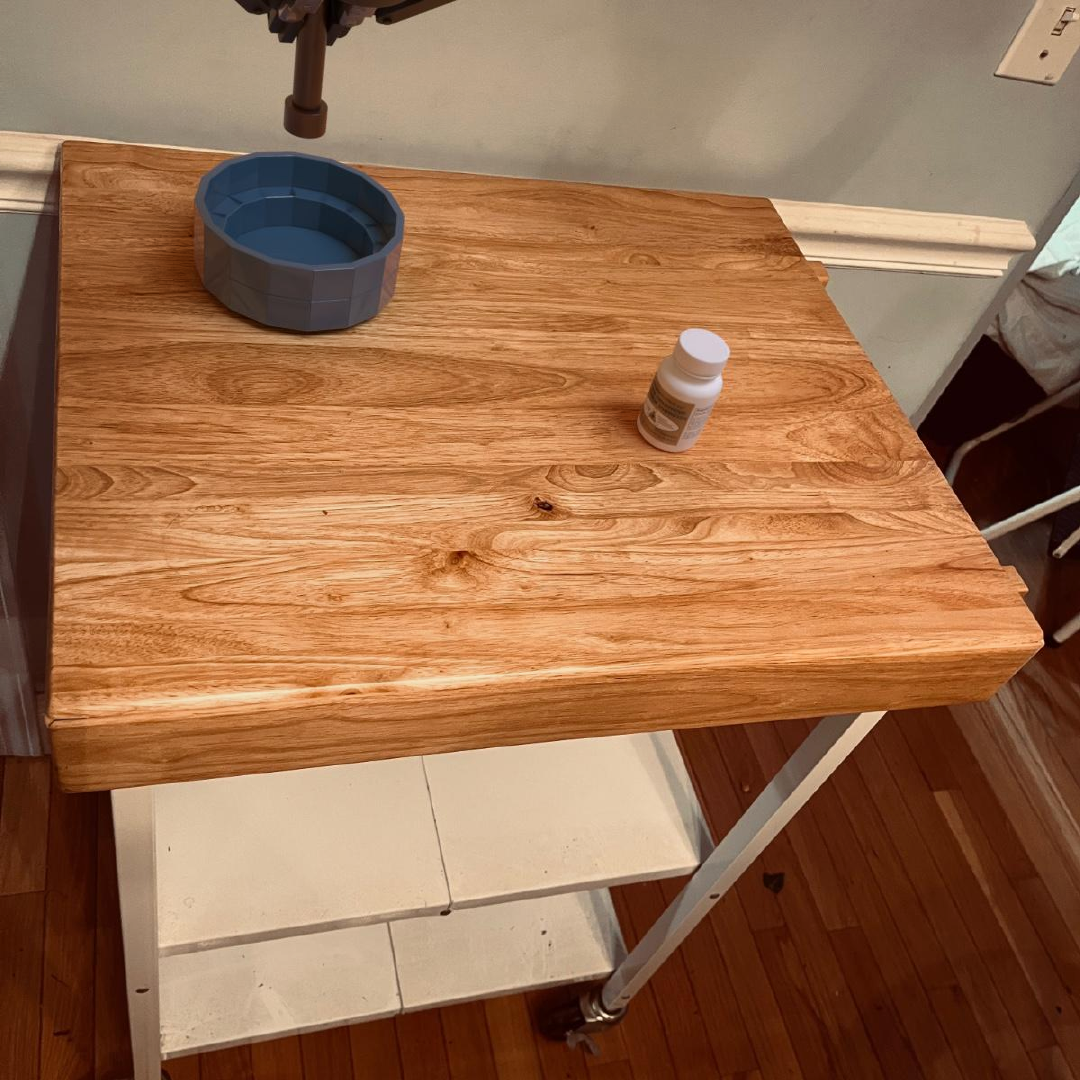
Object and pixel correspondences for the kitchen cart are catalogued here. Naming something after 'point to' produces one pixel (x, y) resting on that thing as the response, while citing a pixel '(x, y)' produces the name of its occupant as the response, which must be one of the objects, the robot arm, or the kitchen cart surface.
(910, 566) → the kitchen cart surface
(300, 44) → the brown rubber stamp
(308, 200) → the bowl
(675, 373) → the pill bottle
